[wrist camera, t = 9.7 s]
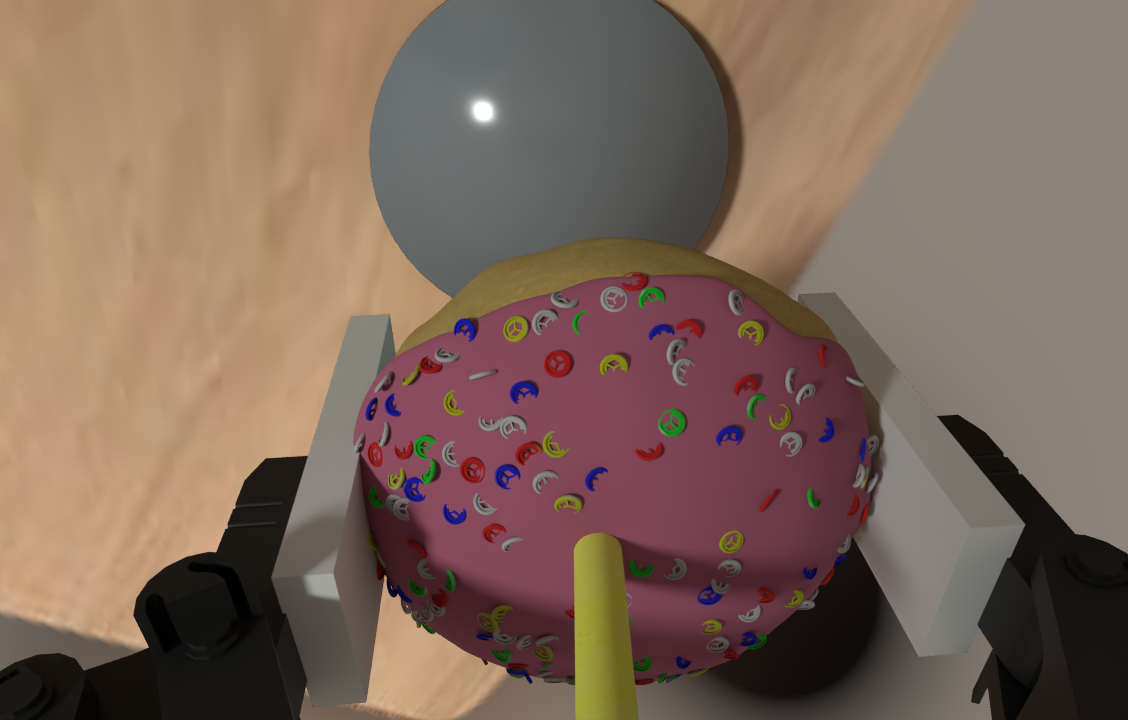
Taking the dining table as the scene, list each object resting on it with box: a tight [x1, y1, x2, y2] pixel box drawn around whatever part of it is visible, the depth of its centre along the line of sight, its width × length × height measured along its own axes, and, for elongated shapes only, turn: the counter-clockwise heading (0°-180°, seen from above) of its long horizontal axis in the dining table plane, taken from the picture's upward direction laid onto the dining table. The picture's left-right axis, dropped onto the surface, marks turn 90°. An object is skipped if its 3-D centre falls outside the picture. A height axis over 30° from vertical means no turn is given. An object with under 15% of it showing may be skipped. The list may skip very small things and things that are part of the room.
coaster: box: [369, 0, 729, 298], centre depth 26 cm, size 12×12×1 cm
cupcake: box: [353, 237, 879, 720], centre depth 11 cm, size 9×8×12 cm
